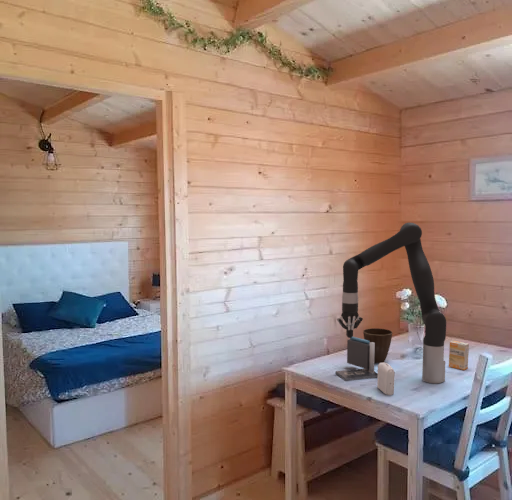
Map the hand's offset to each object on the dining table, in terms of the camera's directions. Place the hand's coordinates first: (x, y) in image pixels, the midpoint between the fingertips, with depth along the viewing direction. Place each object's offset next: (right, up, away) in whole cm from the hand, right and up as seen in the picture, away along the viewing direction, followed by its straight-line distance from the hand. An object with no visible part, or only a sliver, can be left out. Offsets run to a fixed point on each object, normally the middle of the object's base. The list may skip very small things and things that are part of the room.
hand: (349, 337), depth 244 cm
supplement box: (+58, -18, +15) cm, 62 cm away
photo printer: (+13, -21, -18) cm, 30 cm away
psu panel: (+4, -19, +3) cm, 20 cm away
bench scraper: (+8, -17, +10) cm, 21 cm away
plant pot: (+19, -17, +26) cm, 36 cm away
